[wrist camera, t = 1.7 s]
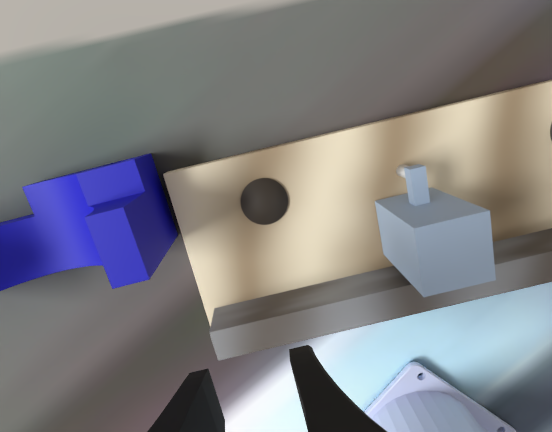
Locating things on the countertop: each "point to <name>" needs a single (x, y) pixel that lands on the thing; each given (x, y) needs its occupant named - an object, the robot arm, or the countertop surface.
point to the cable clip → (91, 225)
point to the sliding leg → (435, 236)
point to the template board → (360, 218)
